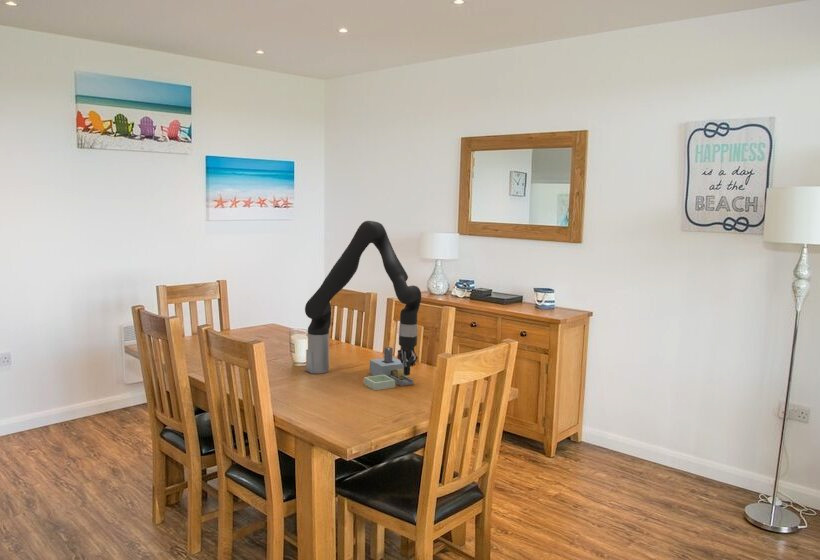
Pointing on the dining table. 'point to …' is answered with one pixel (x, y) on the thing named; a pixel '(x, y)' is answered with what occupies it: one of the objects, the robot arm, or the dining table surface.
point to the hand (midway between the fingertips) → (406, 374)
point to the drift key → (398, 373)
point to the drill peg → (388, 354)
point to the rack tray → (379, 382)
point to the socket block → (389, 370)
